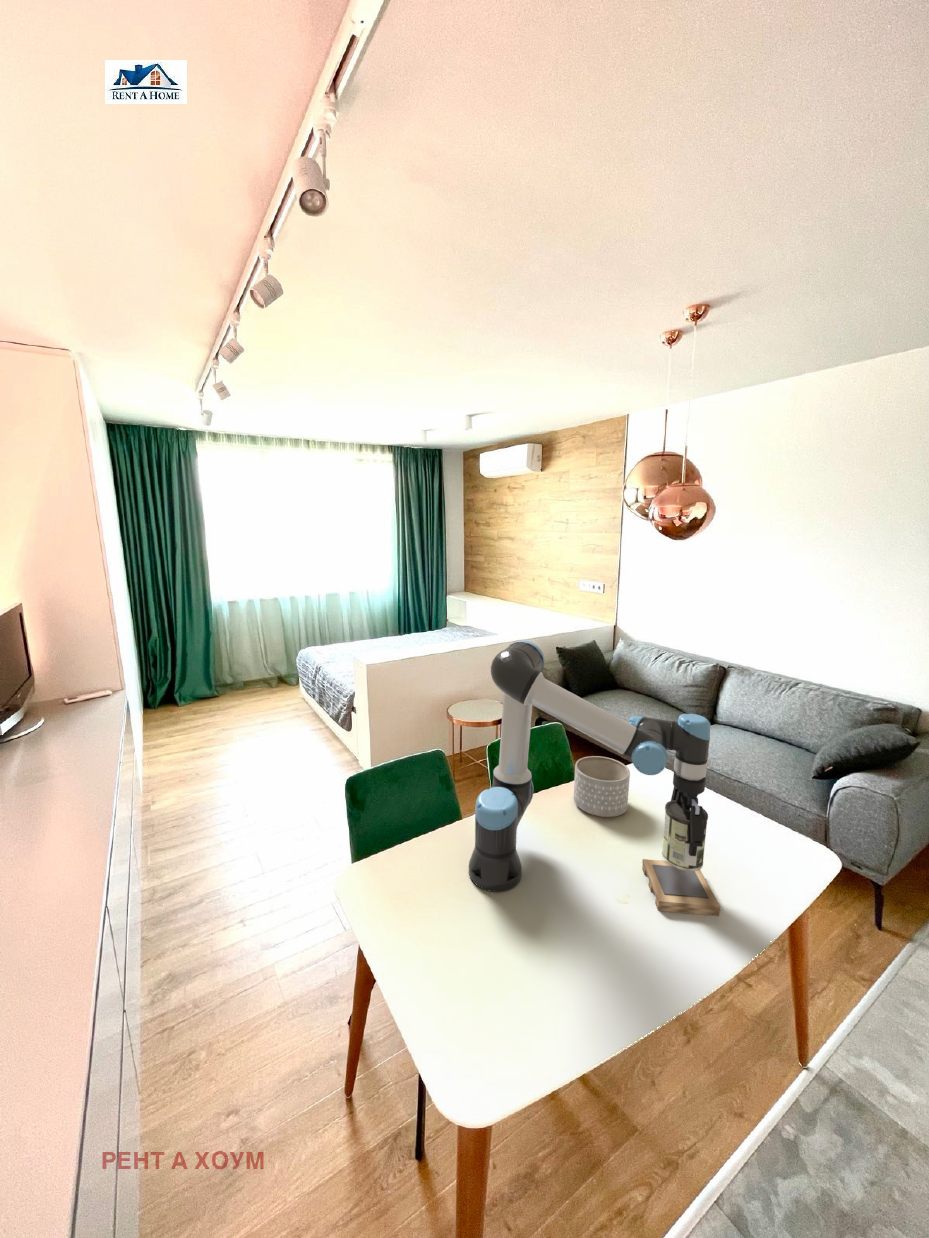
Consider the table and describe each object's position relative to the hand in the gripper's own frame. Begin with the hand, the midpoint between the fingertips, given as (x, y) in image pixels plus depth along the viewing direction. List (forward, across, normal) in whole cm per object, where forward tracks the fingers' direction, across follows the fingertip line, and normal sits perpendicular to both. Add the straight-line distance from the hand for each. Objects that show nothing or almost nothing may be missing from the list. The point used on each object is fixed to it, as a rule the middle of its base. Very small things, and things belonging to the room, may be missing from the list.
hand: (682, 850), depth 125 cm
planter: (+12, +40, +14) cm, 44 cm away
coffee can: (+2, 0, 0) cm, 2 cm away
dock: (+12, 0, 0) cm, 12 cm away
